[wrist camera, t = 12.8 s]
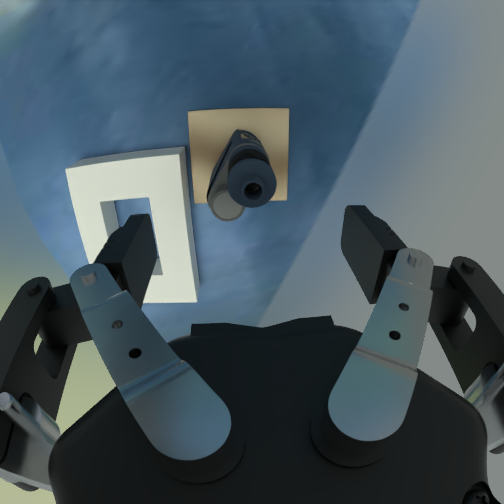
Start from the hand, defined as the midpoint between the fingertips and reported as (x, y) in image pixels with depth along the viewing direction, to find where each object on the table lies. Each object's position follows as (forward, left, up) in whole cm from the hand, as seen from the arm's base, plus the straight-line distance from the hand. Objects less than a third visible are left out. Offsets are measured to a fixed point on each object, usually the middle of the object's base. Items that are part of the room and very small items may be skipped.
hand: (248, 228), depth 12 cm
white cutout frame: (+6, -10, -14) cm, 18 cm away
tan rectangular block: (0, 0, -14) cm, 14 cm away
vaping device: (0, 0, -14) cm, 14 cm away
